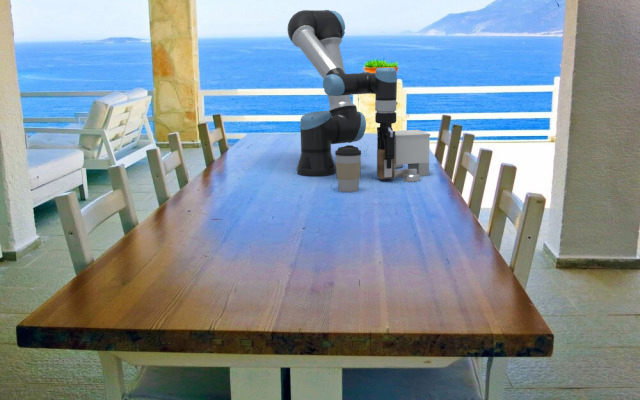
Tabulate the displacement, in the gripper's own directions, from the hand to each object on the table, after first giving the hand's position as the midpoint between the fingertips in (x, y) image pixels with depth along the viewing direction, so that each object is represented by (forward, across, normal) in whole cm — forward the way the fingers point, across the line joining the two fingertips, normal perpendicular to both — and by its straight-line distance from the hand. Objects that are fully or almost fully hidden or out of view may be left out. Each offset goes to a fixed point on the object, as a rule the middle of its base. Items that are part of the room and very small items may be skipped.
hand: (385, 175), depth 251 cm
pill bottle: (+2, +24, -11) cm, 27 cm away
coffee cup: (+2, -12, +17) cm, 21 cm away
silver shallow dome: (+2, -3, -9) cm, 10 cm away
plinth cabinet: (+2, +9, -12) cm, 15 cm away
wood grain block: (+1, 0, -5) cm, 5 cm away
